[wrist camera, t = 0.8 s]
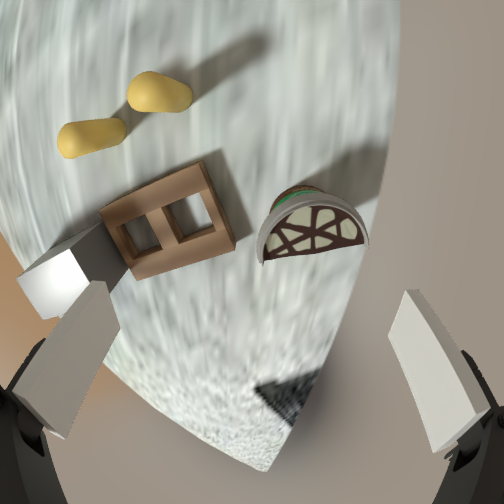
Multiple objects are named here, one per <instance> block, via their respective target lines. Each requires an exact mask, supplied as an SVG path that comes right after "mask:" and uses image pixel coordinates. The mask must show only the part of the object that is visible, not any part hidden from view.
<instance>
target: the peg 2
mask: <svg viewBox="0 0 504 504" xmlns="http://www.w3.org/2000/svg"><path fill="white" fill-rule="evenodd" d="M192 99H193V93H192V90H191V89H190V87H189V86H187V85H186V84H184V83H181V82H179V81H176V80H174V79H172V78H169V77H166V76H164V75H161V74H159V73H156V72H152V71H147V72H143V73H141V74H139V75H137V76H136V77H135V78H134V79H133V80H132V81H131V83H130V84H129V87H128V90H127V100H128V102H129V104H130V106H131V107H132V108H133V109H135V110H137V111H140V112H171V113H179V112H182V111H184V110H186V109H187V108H188V107H189V106H190V104H191V103H192Z"/></svg>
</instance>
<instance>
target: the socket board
mask: <svg viewBox="0 0 504 504" xmlns="http://www.w3.org/2000/svg"><path fill="white" fill-rule="evenodd" d="M198 192H199V193H200V195H201V197H202V200H203V202H204V204H205V207H206V209H207V211H208V214H209V216H210V218H211V220H212V223H213V225H214V226H212V227H209V228H206V229H203V230H201V231H198V232H195V233H192V234H189V235H186V236H183V235H182V232H181V230H180V228H179V226H178V224H177V222H176V220H175V218H174V216H173V213H172V211H171V209H170V207H169V205H168V204H170V203H173V202H175V201H178V200H180V199H182V198H185V197H188V196H190V195H193V194H195V193H198ZM99 213H100V215H101V217H102V219H103V221H104V223H105V225H106V227H107V229H108V231H109V232H110V234H111V236H112V238H113V240H114V242H115V244H116V246H117V247H118V249H119V251H120V253H121V255H122V256H123V258H124V260H125V262H126V263H127V265H128V267H129V269H130V270H131V272H132V274H133V275H134V277H135V279H136V280H137V281H139V280H142V279H145V278H148V277H151V276H154V275H158V274H161V273H164V272H167V271H170V270H173V269H177V268H180V267H183V266H186V265H189V264H193V263H196V262H199V261H202V260H206V259H209V258H212V257H215V256H218V255H222V254H225V253H228V252H231V251H235V247H236V240H235V237H234V235H233V233H232V230H231V228H230V225H229V223H228V221H227V218H226V216H225V213H224V211H223V209H222V206H221V204H220V201H219V199H218V197H217V194H216V192H215V189H214V187H213V184H212V182H211V180H210V177H209V175H208V172H207V170H206V167H205V165H204V163H203V161H200V162H198V163H195V164H193V165H191V166H188V167H186V168H183V169H181V170H179V171H176V172H174V173H172V174H170V175H167V176H165V177H163V178H161V179H158V180H156V181H154V182H152V183H150V184H148V185H146V186H143V187H141V188H139V189H137V190H135V191H133V192H131V193H129V194H127V195H125V196H123V197H121V198H119V199H117V200H115V201H113V202H111V203H110V204H108V205H106V206H105V207H103V208H102V209H100V210H99ZM144 214H145V215H146V217H147V219H148V221H149V223H150V225H151V227H152V229H153V231H154V233H155V235H156V237H157V239H158V241H159V243H160V245H159V246H156V247H153V248H150V249H148V250H145V251H142V252H140V253H139V252H138V250H137V248H136V246H135V245H134V243H133V241H132V239H131V237H130V235H129V233H128V231H127V229H126V227H125V225H124V223H126V222H128V221H131V220H133V219H135V218H137V217H140V216H142V215H144Z"/></svg>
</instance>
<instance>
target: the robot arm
mask: <svg viewBox="0 0 504 504" xmlns="http://www.w3.org/2000/svg"><path fill="white" fill-rule="evenodd" d="M119 330H120V325H119V322H118V319H117V316H116V313H115V310H114V307H113V304H112V301H111V298H110V295H109V292H108V288H107V285H106V282H105V281H94V280H92V281H91V282H90V284H89V285H88V286H87V287H86V288H85V289H84V291H83V292H82V293H81V294H80V296H79V297H78V298H77V299H76V300H75V302H74V303H73V304H72V305H71V307H70V308H69V309H68V310H67V312H66V313H65V314H64V316H63V317H62V318H61V320H60V321H59V322H58V323H57V325H56V326H55V328H54V329H53V330H52V332H51V333H50V334H49V336H48V337H47V339H46V338H44V339H42V340H41V341H40V342H39V343H37V344H36V345H35V346H34V347H33V349H32V350H31V352H30V353H29V356H27V357H26V359H25V360H24V363H22V365H21V367H20V368H19V369H18V371H17V372H16V374H15V376H14V377H13V379H12V380H11V382H10V384H9V385H8V387H7V389H6V390H4V389H3V388H2V387H1V385H0V504H68V503H67V501H66V498H65V496H64V493H63V491H62V488H61V485H60V483H59V480H58V477H57V474H56V471H55V468H54V465H53V462H52V458H51V455H50V452H49V448H48V444H47V440H46V436H45V434H44V432H43V431H42V429H43V427H44V426H45V427H46V428H47V429H48V430H49V431H50V432H51V433H52V434H54V435H56V436H58V437H61V438H63V439H65V440H66V439H67V437H68V434H69V432H70V429H71V427H72V425H73V423H74V420H75V418H76V416H77V413H78V411H79V409H80V407H81V405H82V403H83V400H84V398H85V396H86V394H87V392H88V390H89V388H90V386H91V384H92V382H93V379H94V378H95V375H96V374H97V371H98V370H99V368H100V365H101V364H102V362H103V360H104V358H105V356H106V354H107V352H108V350H109V348H110V347H111V345H112V343H113V341H114V339H115V337H116V335H117V334H118V332H119ZM388 337H389V339H390V342H391V344H392V346H393V348H394V351H395V353H396V355H397V357H398V360H399V362H400V364H401V367H402V369H403V371H404V374H405V376H406V379H407V381H408V383H409V386H410V389H411V391H412V394H413V397H414V399H415V402H416V404H417V407H418V410H419V413H420V415H421V418H422V421H423V424H424V427H425V430H426V433H427V436H428V439H429V442H430V445H431V448H432V452H433V453H435V452H438V451H440V450H443V449H445V448H448V447H449V446H450V445H452V444H453V443H454V442H455V441H456V440H457V441H458V445H457V446H456V447H455V448H454V449H452V450H451V451H450V452H449V453H447V454H446V456H445V458H444V459H447V458H448V457H450V456H451V455H452V454H453V456H452V457H451V458H450V459H449V461H450V464H449V466H448V469H447V472H446V474H445V477H444V479H443V481H442V484H441V486H440V488H439V491H438V493H437V495H436V497H435V499H434V501H433V503H432V504H504V406H501V407H499V405H498V404H497V402H496V400H495V398H494V396H493V394H492V392H491V390H490V388H489V386H488V385H487V383H486V381H485V379H484V377H482V374H481V372H480V370H478V367H477V365H476V363H475V362H474V360H473V358H472V357H471V356H469V354H468V353H466V352H465V351H464V350H462V351H460V350H459V348H458V346H457V345H456V343H455V342H454V340H453V338H452V337H451V335H450V334H449V332H448V331H447V329H446V328H445V326H444V324H443V323H442V321H441V320H440V319H439V317H438V316H437V314H436V313H435V311H434V310H433V308H432V307H431V305H430V304H429V303H428V301H427V300H426V298H425V297H424V296H423V294H422V293H421V292H420V290H419V289H417V290H405V293H404V296H403V298H402V301H401V304H400V307H399V309H398V312H397V315H396V318H395V320H394V323H393V325H392V327H391V330H390V332H389V334H388Z"/></svg>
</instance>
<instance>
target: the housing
mask: <svg viewBox="0 0 504 504" xmlns="http://www.w3.org/2000/svg"><path fill="white" fill-rule="evenodd" d="M128 268H129V267H128V265H127V263H126V262H125V260H124V258H123V256H122V255H121V253H120V251H119V249H118V247H117V246H116V244H115V242H114V240H113V238H112V236H111V234H110V232H109V231H108V229H107V227H106V225H105V223H104V221H103V220H102V221H100V222H98V223H96V224H94V225H93V226H91V227H89V228H87V229H85V230H83V231H81V232H79V233H78V234H76V235H74V236H72V237H70V238H69V239H67V240H65V241H63V242H62V243H60V244H58V245H56V246H55V247H53V248H51V249H50V250H48V251H47V252H46V253H44V254H43V255H42V256H41V257H40V258H39V259H37V260H36V261H35V262H34V263H33V264H32V265H31V266H30V267H28V268H27V269H26V270H25V271H24V272H23V273H22V274H21V275H20V276H19V277H17V278H16V279H17V281H18V283H19V284H20V286H21V288H22V289H23V291H24V292H25V294H26V295H27V297H28V299H29V300H30V302H31V303H32V305H33V306H34V308H35V309H36V310H37V312H38V313H39V315H40V316H41V317H42V319H43V320H45V319H49V318H52V317H55V316H60V315H63V314H65V313H66V312H67V310H68V309H69V308H70V307H71V305H72V304H73V303H74V302H75V300H76V299H77V298H78V297H79V296H80V294H81V293H82V292H83V291H84V289H85V288H86V287H87V286H88V285H89V284H90V282H91V281H92V280H94V281H105V282H106V285H107V288H108V292H109V294H110V293H111V291H112V290H113V289H114V287H115V286H116V284H117V283H118V282H119V280H120V279H121V278H122V276H123V275H124V274H125V272H126V271H127V270H128Z"/></svg>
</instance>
